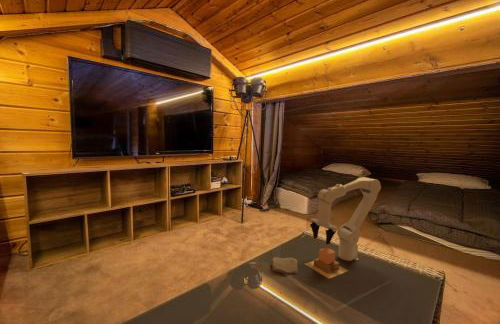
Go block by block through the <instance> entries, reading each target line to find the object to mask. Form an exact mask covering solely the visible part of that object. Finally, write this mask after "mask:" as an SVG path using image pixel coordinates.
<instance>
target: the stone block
mask: <svg viewBox="0 0 500 324" xmlns="http://www.w3.org/2000/svg"><path fill="white" fill-rule="evenodd" d="M271 266H272V272H276V273H280V274H283V275H289V276H290V274H298V273H299V269H298V260H297V259H296V258H294V257H284V258H281V257H278V256H274V257H273V258H272V260H271Z"/></svg>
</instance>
